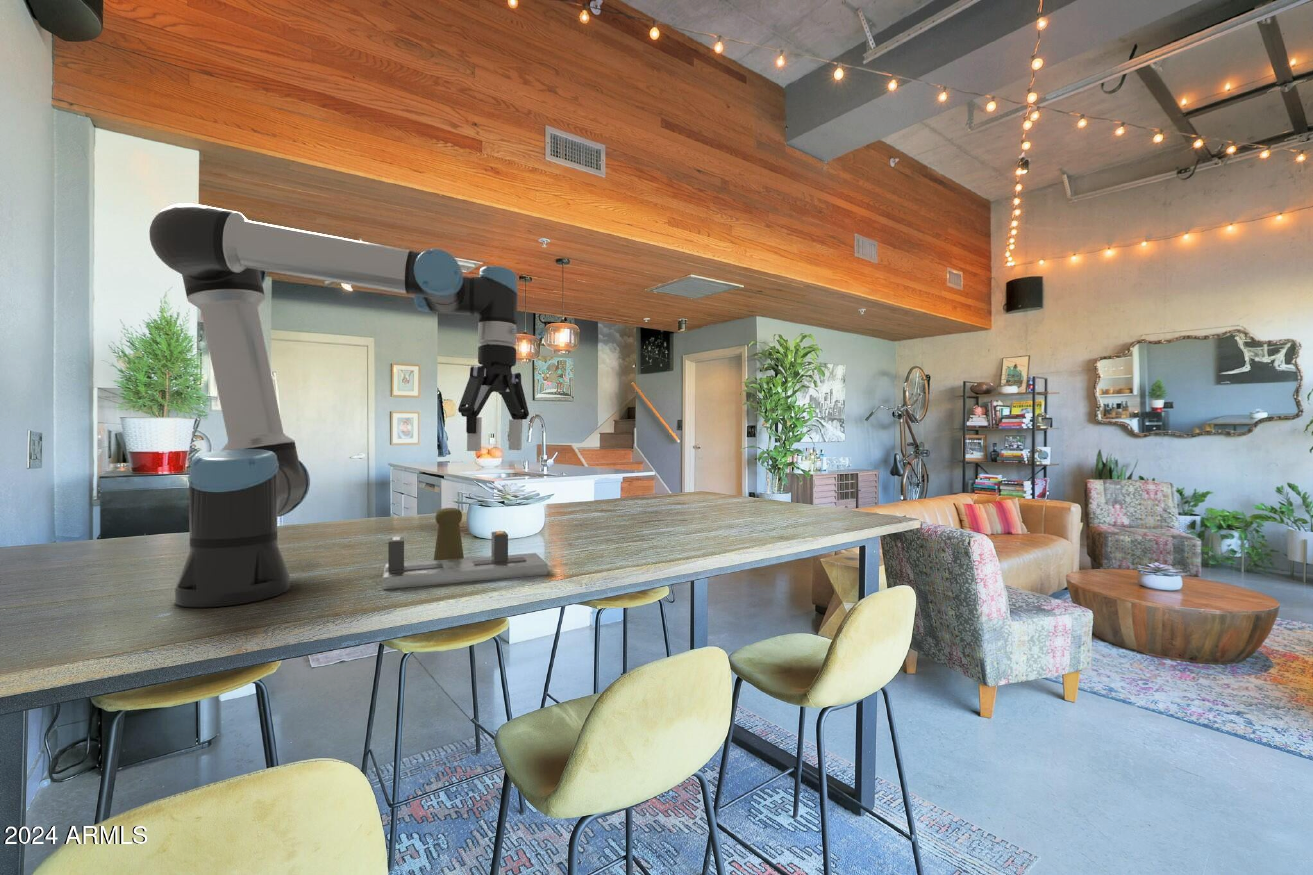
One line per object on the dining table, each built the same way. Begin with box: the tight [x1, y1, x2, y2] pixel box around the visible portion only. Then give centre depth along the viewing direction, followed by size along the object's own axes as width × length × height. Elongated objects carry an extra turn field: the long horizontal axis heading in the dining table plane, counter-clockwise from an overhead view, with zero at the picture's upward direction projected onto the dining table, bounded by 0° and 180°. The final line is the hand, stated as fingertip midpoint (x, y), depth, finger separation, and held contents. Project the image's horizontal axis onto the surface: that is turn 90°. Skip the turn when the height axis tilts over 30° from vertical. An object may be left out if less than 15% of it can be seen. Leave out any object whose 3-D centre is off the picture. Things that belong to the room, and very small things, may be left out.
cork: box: [433, 507, 465, 561], centre depth 121 cm, size 6×6×11 cm
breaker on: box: [387, 536, 405, 571], centre depth 105 cm, size 2×4×5 cm, turn 23°
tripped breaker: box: [490, 530, 509, 562], centre depth 112 cm, size 2×4×5 cm, turn 23°
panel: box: [382, 552, 549, 590], centre depth 110 cm, size 28×11×2 cm, turn 113°
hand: (495, 450), depth 119 cm, fingers open, 13 cm apart
